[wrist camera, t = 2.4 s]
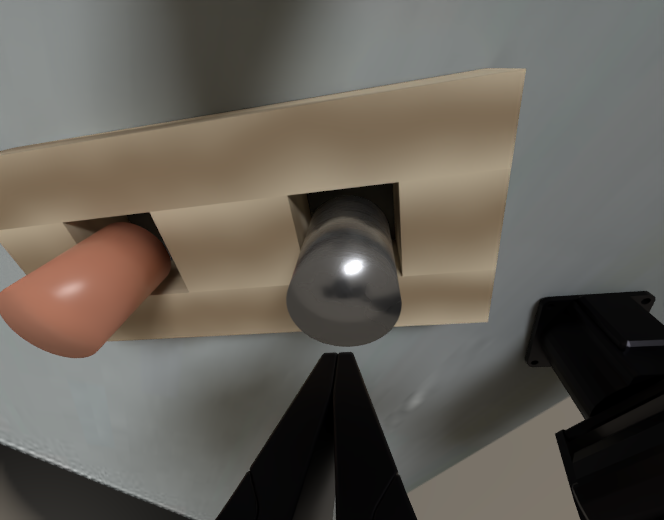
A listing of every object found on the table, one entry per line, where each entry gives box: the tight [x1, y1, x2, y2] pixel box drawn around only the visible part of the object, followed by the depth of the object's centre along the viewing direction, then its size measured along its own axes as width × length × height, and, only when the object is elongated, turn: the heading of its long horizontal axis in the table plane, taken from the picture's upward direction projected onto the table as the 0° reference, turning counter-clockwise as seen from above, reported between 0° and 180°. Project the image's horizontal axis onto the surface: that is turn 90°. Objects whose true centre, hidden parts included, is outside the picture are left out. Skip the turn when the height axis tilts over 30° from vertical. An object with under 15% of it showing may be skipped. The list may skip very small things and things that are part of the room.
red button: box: [0, 222, 171, 358], centre depth 15 cm, size 4×4×6 cm
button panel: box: [0, 68, 526, 341], centre depth 17 cm, size 12×26×4 cm, turn 99°
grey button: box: [286, 195, 402, 347], centre depth 13 cm, size 4×4×6 cm
